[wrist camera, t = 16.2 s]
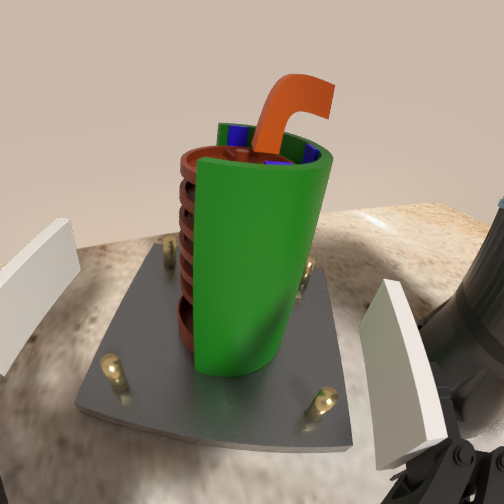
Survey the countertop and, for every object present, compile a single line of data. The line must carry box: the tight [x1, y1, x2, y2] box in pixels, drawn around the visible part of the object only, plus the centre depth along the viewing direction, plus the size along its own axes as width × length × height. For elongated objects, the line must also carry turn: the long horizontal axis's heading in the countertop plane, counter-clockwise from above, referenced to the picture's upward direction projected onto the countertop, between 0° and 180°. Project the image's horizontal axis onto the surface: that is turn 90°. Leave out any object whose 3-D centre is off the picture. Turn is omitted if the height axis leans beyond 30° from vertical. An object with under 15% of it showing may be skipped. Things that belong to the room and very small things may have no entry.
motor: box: [177, 74, 335, 377], centre depth 19 cm, size 10×9×20 cm
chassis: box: [75, 234, 353, 453], centre depth 24 cm, size 20×21×4 cm
